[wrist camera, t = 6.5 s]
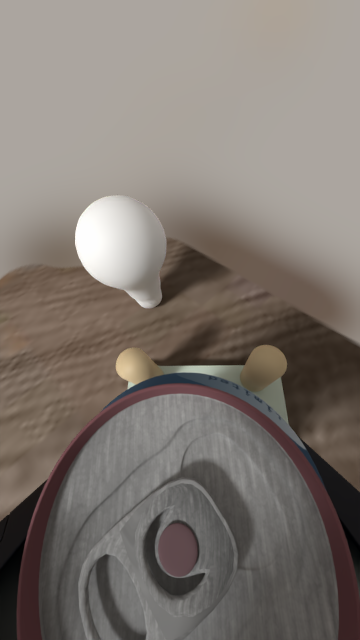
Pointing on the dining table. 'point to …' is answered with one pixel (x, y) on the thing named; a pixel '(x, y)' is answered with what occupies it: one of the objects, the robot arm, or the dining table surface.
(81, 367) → the dining table surface
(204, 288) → the dining table surface
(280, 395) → the board
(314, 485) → the soda can
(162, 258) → the lightbulb
